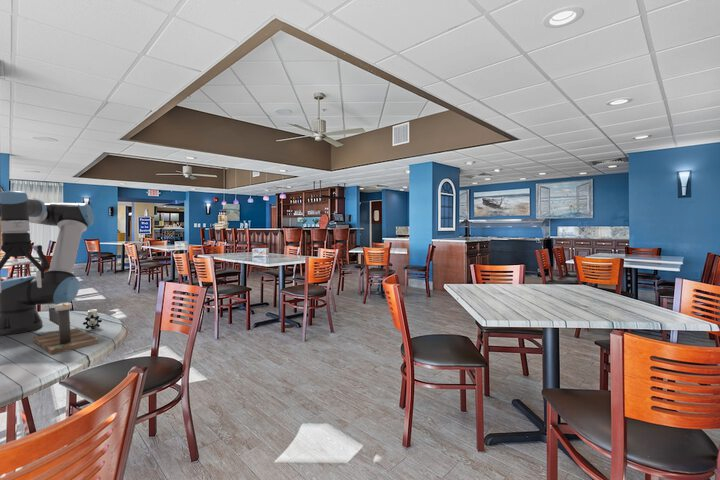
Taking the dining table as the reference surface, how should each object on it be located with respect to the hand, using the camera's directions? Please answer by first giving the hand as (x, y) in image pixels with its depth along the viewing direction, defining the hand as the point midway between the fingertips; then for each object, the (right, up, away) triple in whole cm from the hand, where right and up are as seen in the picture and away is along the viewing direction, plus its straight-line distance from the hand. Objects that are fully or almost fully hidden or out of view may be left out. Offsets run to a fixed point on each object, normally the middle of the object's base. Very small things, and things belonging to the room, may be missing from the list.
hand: (20, 289), depth 130 cm
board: (+13, -21, +5) cm, 26 cm away
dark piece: (+13, -20, +3) cm, 24 cm away
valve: (+8, -21, +25) cm, 33 cm away
